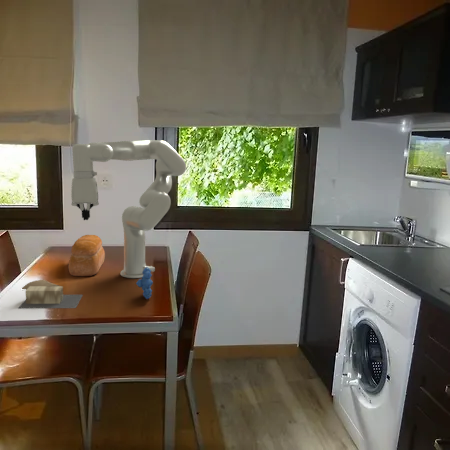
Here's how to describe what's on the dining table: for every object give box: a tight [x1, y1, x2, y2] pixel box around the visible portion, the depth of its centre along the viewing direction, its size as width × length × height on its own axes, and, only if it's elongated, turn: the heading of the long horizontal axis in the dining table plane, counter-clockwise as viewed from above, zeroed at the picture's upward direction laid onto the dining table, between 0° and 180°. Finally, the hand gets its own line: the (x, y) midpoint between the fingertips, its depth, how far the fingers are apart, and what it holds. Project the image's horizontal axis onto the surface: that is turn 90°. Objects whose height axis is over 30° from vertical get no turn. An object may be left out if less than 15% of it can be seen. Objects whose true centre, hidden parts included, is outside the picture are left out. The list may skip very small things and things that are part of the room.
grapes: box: [135, 267, 154, 300], centre depth 173 cm, size 12×7×12 cm, turn 14°
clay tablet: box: [21, 279, 60, 291], centre depth 179 cm, size 14×10×3 cm
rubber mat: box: [18, 294, 84, 309], centre depth 165 cm, size 20×14×1 cm
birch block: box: [25, 285, 64, 304], centre depth 164 cm, size 5×5×12 cm
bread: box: [68, 234, 106, 277], centre depth 207 cm, size 14×26×15 cm, turn 7°
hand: (86, 219), depth 181 cm, fingers closed
